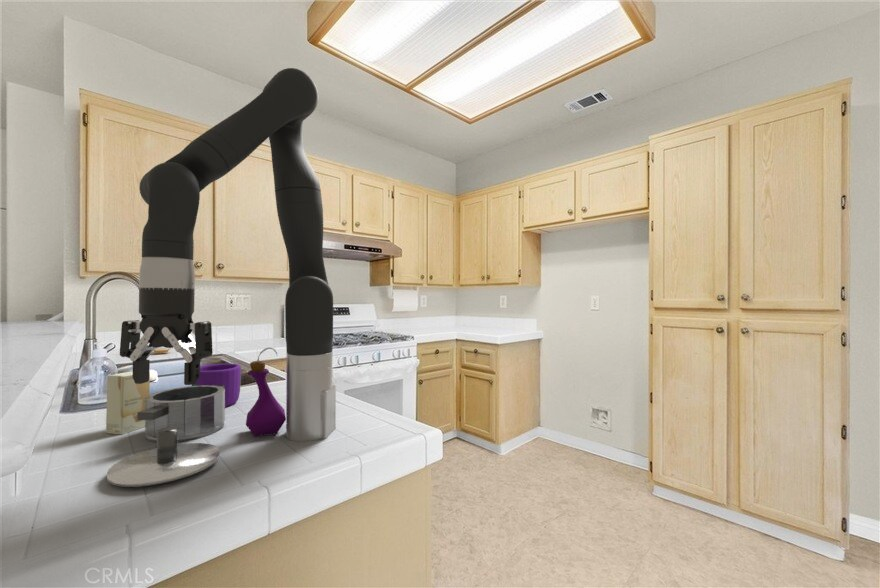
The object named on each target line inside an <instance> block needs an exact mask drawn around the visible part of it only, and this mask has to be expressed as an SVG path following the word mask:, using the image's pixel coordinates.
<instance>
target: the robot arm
mask: <svg viewBox="0 0 880 588" xmlns="http://www.w3.org/2000/svg"><path fill="white" fill-rule="evenodd" d="M318 102H319V90H318V88H317V85H316V83H315V81H314V80H313V78H312V77H311V76H310V75H308V74H307V73H306V72H304V71H303V70H302V69H299V68H295V67H292V68H291V67H287V68H283V69H281V70H279V71H278V72H277V73H275V75H274V76H273V77H272V78H271V79H270V80H269V81H268V82H267V84H266V85H265V86H264V87H263V90H262V92H261V93H260V94H258V95H257V96H256V97H255V98H254V99H253V100H251V101H250V102H248V103H247V104H245V106H243V107H242V108H240V109H239V110H237V111H236V112H234V113H233V114H231V115H229V116H228V117H227V118H225V119H223V120H221V121H220V122H218V123H217V124H215V125H213V127H211V128H210V129H207V130H206V131H205V132H203V133H202V134H201V135H199V136H198V137H196V138H195V139H193V140H192V141H191V142H189V144H188V145H186V146H185V147H184V148H183V149H182V150H181V151H180V152H179V153H177V154H176V155H173V157H170V158H169V159H167V160H166V161H164V162H162V163H159V164H157V165H155V166H154V167H152V168H151V169H150V170H148V171H147V172H145V174H144V175H143V176H142V178H141V180H140V181H139V189H138V190H139V193H140V196H141V198H142V200H143V201H144V202H145V203H146V204H147V206H148V209H147V211H148V212H147V213H148V214H147V221H146V223H145V225H144V226H143V230H142V235H141V236H142V237H141V261H140V266H139V267H140V268H139V272H138V273H139V274H138V275H139V276H138V279H139V280H138V281H139V282H138V283H139V284H138V313H139V314H140V315H141V316H142V318H141V321H140V319H139V320H138V319H137V320H136V319H135V320H134V319H132V320H124V321H123V322H122V323H121V330H120V342H119V343H120V346H119V356H120V357H121V358H128V359H130V361H132V371H133V376H132V377H133V380H134V382H135V384H142V383H146V382H148V381H149V370H150V369H151V368H150V359H148V358H149V357H150V356H151V355H152V353H153V352H154V351H153V350H155V349H156V348H158V347H166V348H173V349H175V352H177V353H179V354H180V355H181V356H182V358H183V359H184V360H185V362H184V363H183V365H184V368H183V371H184V373H183V375H184V376H183V383H184V385H185V386H191V385H192V384H195V383H196V382H197V380H199V378H200V366H201V361H202V360H203V359H207V358H209V357H211V356H212V355H213V335H212V333H213V331H212V330H213V329H212V323H211V321H198V322H194V321H193V314H194V312H195V293H196V292H195V289H196V288H195V286H196V285H195V284H196V283H195V282H196V281H195V280H196V277H195V276H196V273H195V265H194V249H195V248H194V241H195V240H194V232H195V227H196V223H197V218H198V217H197V216H198V214H199V213H198V212H199V207H200V197H201V193H200V192H202V191H203V190H204V189H205V188H206V187H208V186H209V185H211V183H214V182H215V181H217V180H219V179H221V178H223V177H224V176H226V175H227V174H228V173H230V172H231V171H233V169H235V168H236V167H237V166H238V165H240V164H241V163H242V162H243V161H244V160H246V159H247V158H248V157H249V156H250V155H251V154H252V153H253V152H254V151H255V150H256V149H258V148H259V147H260V146H261V145H262V144H263V143H264V142H265V141H267V139H269V145H270V154H271V163H272V164H271V165H272V172H273V183H274V195H275V204H276V205H275V206H276V212H277V219H278V222H279V227H280V230H281V235H282V239H283V243H284V245H285V249H286V252H287V253H286V254H287V259H288V278H289V281H288V282H289V283H288V288H287V290H286V293H285V301H284V302H285V303H284V304H285V305H284V314H285V315H284V317H285V321H284V323H285V344H286V345H285V346H286V374H285V375H286V385H285V387H286V399H285V400H286V401H285V402H286V403H285V405H286V412H285V417H286V420H285V422H286V425H285V426H286V427H285V429H286V434H285V435H286V439H288V440H290V441H294V442H311V441H317V440H326V439H328V437H330V435H331V434H332V433H333V432H334V431H335V430H336V428H337V427H336V424H337V423H336V421H337V419H336V417H337V416H336V414H337V413H336V409H337V408H336V400H337V399H336V397H337V396H336V393H337V391H336V390H337V388H336V387H337V386H336V385H334V384H333V343H334V342H333V341H334V295H333V292H332V291H333V290H332V288H331V286H329V282H328V276H327V271H326V268H325V267H326V266H325V262H324V252H323V248H324V208H323V199H322V191H321V190H322V189H321V185H320V181H319V179H318V176H317V174H316V171H315V170H314V168H313V166H312V165H311V163H310V161H309V159H308V157H307V154H306V150H305V146H304V137H303V136H304V135H303V122H304V121H305V120H306V119H307V118H308V117H310V115H312V114H313V112H315V110H316V108H317V106H318V104H319V103H318ZM141 333H142V334H143V335H142V336H141ZM191 333H192V334H193V335H194V338H193V336H192V335H191Z"/></svg>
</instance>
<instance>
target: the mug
mask: <svg viewBox="0 0 880 588" xmlns="http://www.w3.org/2000/svg"><path fill="white" fill-rule="evenodd" d="M241 380H242V366H241V365H240V364H237V363H213V364H205V365H200V378H199V380H197V382H196V383H195V384H192V385H190V386H200V385H225V408H226V407H230V406H231V405H234V404H235V403H237V402H238V400H239V398H240V394H241V383H242V381H241Z"/></svg>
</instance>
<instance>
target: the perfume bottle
mask: <svg viewBox="0 0 880 588" xmlns="http://www.w3.org/2000/svg"><path fill="white" fill-rule="evenodd" d="M267 350H272V351H274V352H275V354H276V355H278V352H277V350H276V349H275V348H274V347H272V346H271V347H270V346H268V347H265V348H264V349H263V350H261V351H260V352H259V355H258V357H257V360H254V361H252V362H250V363H249V366H250V369H251V370H249V371H247V375H248V376H250V377H252V378H253V379H254V381H255V383H256V384H257V389H258V398H257V400H256V401H255V403H254V405H252V407H251V408H250V410H249V411H248V412H247V415H246V420H245V426H246V428H247V429H248V430H249V431H250V433H252V434H253V436H255V437H264V436H270V435H271V436H272V435H276V434H278V433H279V431H280V430H281V428H282V426H283V425H284V424H285V422H286V412H285V408H283V407H282V406H283V405H281V404H280V403H279V402H278V400H277V399H276V397H275V396H274V395H273V393H272V391H271V389H270V386H269V384H268V382H267V378H266V377H267V374H270V371H269V368H266V363H265V362H264V361H261V360H260V356H261V354H262V353H264V352H265V351H267Z"/></svg>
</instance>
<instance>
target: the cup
mask: <svg viewBox="0 0 880 588" xmlns="http://www.w3.org/2000/svg"><path fill="white" fill-rule="evenodd" d="M173 349H174V347H173V348H166V347H158V348H156V349H155V350H153V352H154V353H155V354H163V353H168V352H169V351H170V350H173Z"/></svg>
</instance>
